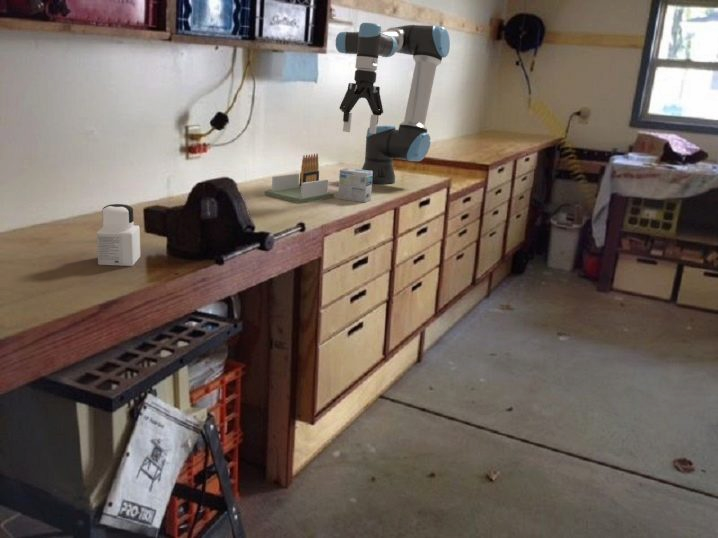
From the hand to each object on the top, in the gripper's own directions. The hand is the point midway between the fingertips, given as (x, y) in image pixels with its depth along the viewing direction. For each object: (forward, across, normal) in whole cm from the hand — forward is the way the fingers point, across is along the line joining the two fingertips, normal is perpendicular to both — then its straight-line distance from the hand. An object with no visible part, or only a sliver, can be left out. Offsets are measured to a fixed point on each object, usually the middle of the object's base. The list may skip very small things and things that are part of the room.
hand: (359, 132), depth 238 cm
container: (+31, -103, -24) cm, 110 cm away
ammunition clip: (+23, +5, +29) cm, 38 cm away
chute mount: (+24, -14, +13) cm, 31 cm away
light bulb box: (+24, 0, -1) cm, 24 cm away
